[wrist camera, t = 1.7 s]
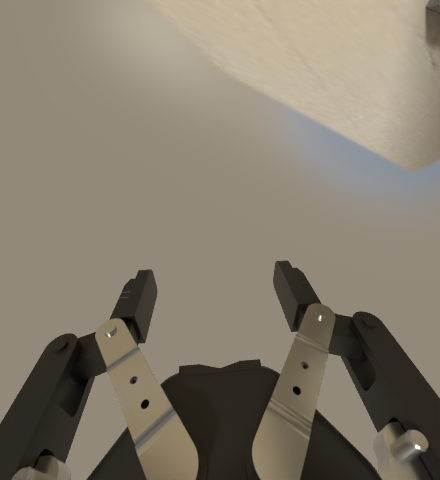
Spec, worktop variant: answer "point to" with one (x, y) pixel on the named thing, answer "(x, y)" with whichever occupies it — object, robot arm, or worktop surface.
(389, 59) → the worktop surface
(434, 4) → the keypad
